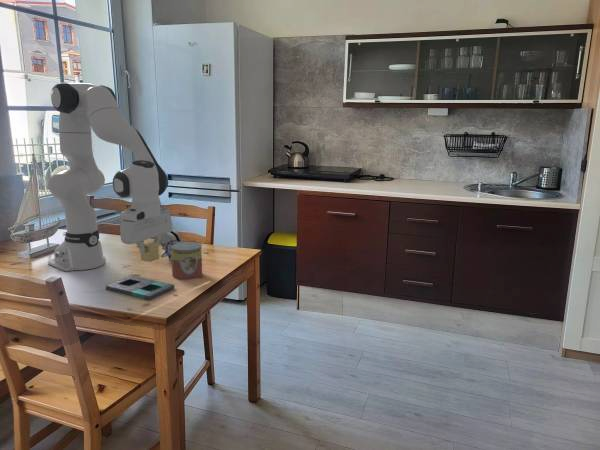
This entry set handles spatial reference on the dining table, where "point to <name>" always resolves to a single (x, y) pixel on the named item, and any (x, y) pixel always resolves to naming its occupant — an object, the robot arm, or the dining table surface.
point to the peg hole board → (140, 287)
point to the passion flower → (169, 248)
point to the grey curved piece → (170, 237)
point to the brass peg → (150, 251)
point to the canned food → (186, 260)
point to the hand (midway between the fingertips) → (149, 250)
